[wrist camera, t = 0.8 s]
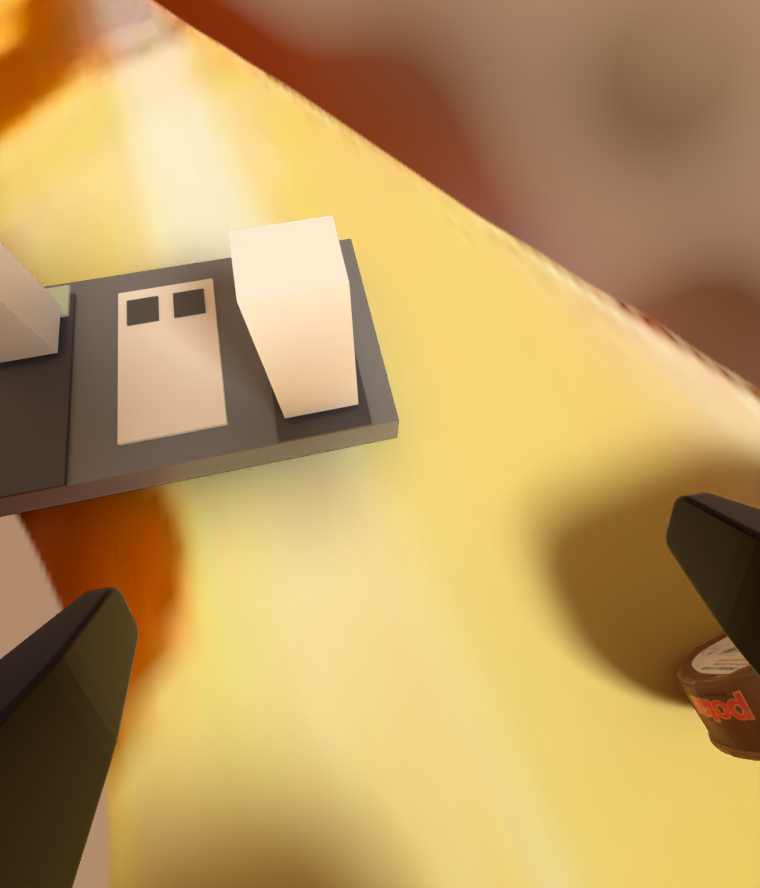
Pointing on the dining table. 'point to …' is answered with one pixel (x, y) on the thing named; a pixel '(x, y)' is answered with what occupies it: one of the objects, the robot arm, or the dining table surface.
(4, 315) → the tab grey
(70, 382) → the switch bank
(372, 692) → the dining table surface
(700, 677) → the tin
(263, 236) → the tab offwhite
